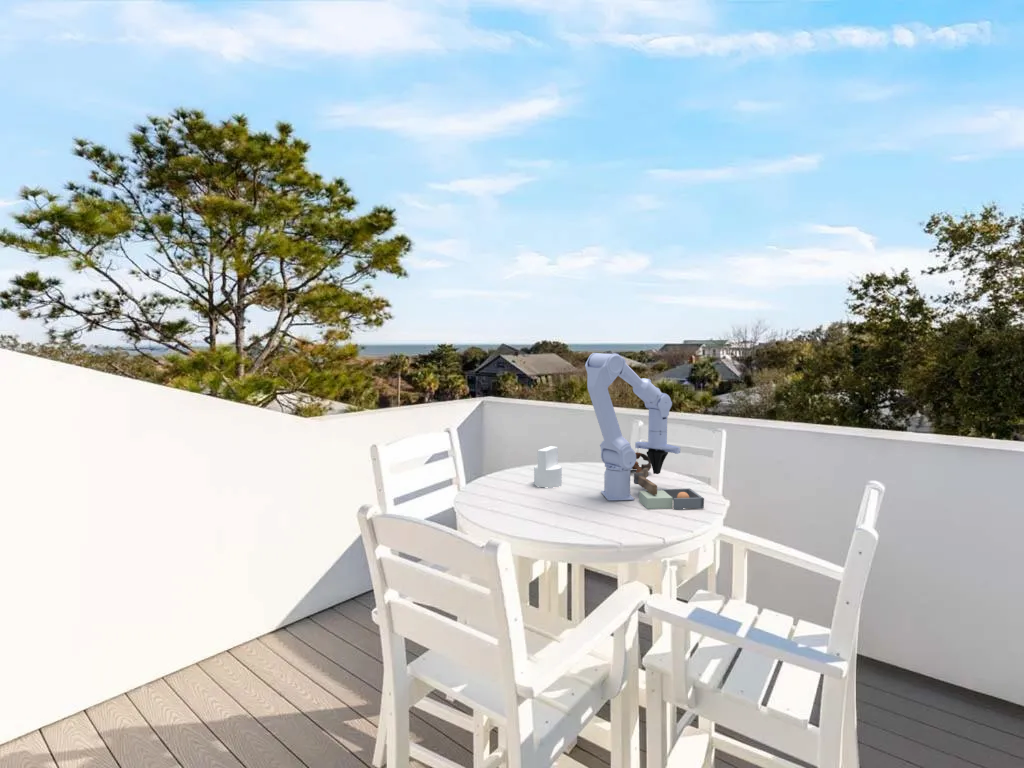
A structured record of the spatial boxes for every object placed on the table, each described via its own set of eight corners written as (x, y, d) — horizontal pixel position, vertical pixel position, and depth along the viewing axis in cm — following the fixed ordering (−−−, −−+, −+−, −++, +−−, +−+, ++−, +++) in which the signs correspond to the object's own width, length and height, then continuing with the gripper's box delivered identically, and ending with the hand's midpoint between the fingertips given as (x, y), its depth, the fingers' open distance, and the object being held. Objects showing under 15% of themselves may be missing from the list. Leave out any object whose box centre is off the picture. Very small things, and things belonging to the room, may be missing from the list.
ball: (680, 505, 173) (672, 497, 173) (688, 495, 174) (679, 488, 173) (686, 508, 170) (677, 501, 169) (694, 498, 170) (685, 491, 169)
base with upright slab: (553, 489, 189) (553, 452, 188) (529, 485, 193) (529, 449, 192) (566, 483, 196) (566, 447, 195) (542, 480, 201) (542, 445, 200)
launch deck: (639, 500, 175) (639, 490, 175) (663, 500, 176) (663, 490, 175) (647, 508, 167) (647, 498, 167) (672, 508, 168) (672, 497, 167)
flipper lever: (630, 475, 192) (631, 466, 192) (648, 475, 192) (648, 466, 192) (637, 494, 170) (637, 483, 170) (657, 494, 169) (657, 484, 169)
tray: (661, 499, 177) (662, 489, 177) (689, 498, 178) (689, 488, 177) (674, 509, 166) (674, 499, 166) (703, 508, 167) (703, 498, 167)
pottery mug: (644, 470, 216) (652, 453, 212) (646, 487, 208) (654, 470, 204) (612, 462, 216) (619, 445, 211) (613, 479, 208) (621, 461, 203)
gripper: (685, 431, 184) (684, 474, 186) (643, 426, 194) (642, 467, 195) (675, 434, 179) (674, 478, 180) (632, 429, 189) (631, 471, 190)
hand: (656, 473), depth 187 cm, fingers closed
